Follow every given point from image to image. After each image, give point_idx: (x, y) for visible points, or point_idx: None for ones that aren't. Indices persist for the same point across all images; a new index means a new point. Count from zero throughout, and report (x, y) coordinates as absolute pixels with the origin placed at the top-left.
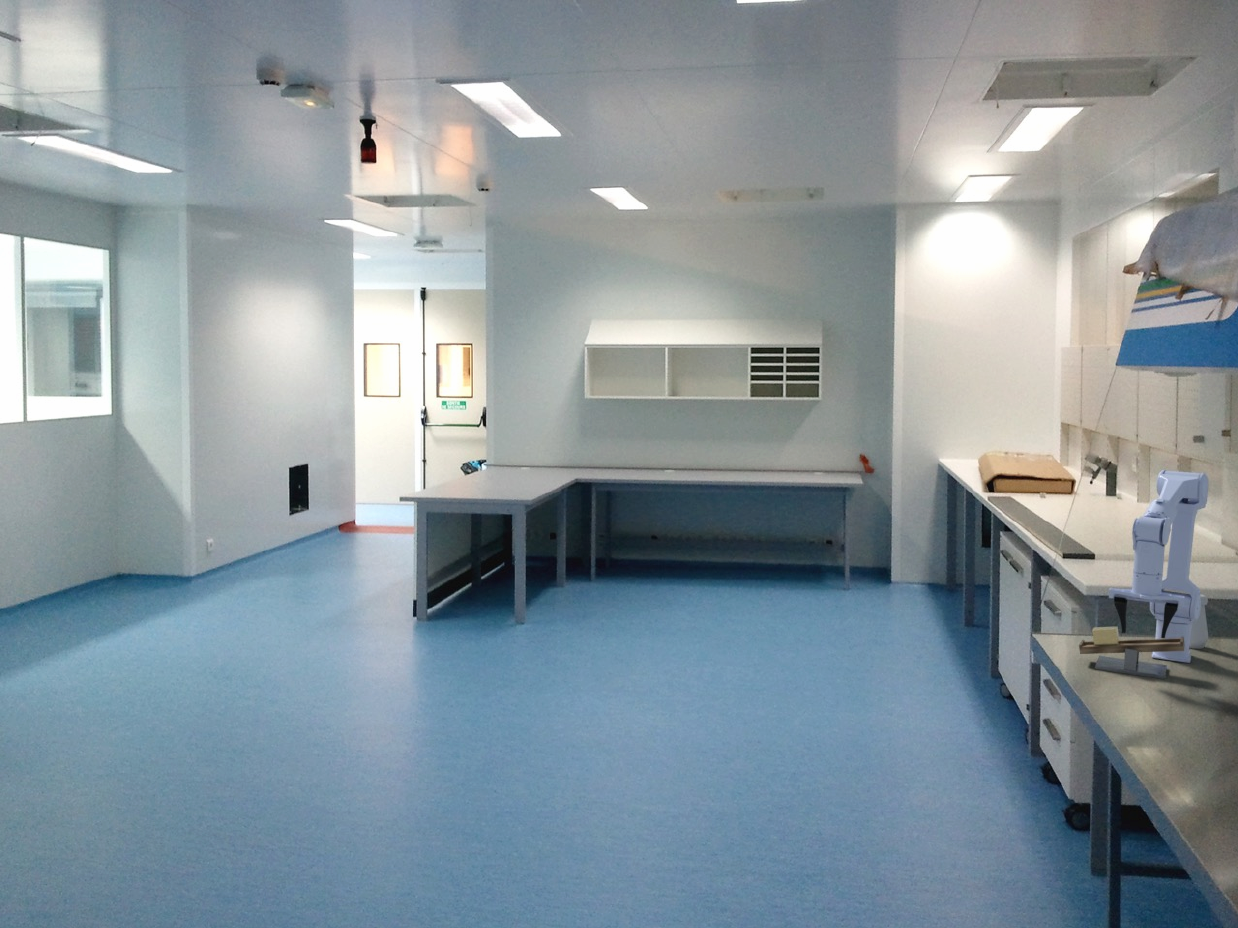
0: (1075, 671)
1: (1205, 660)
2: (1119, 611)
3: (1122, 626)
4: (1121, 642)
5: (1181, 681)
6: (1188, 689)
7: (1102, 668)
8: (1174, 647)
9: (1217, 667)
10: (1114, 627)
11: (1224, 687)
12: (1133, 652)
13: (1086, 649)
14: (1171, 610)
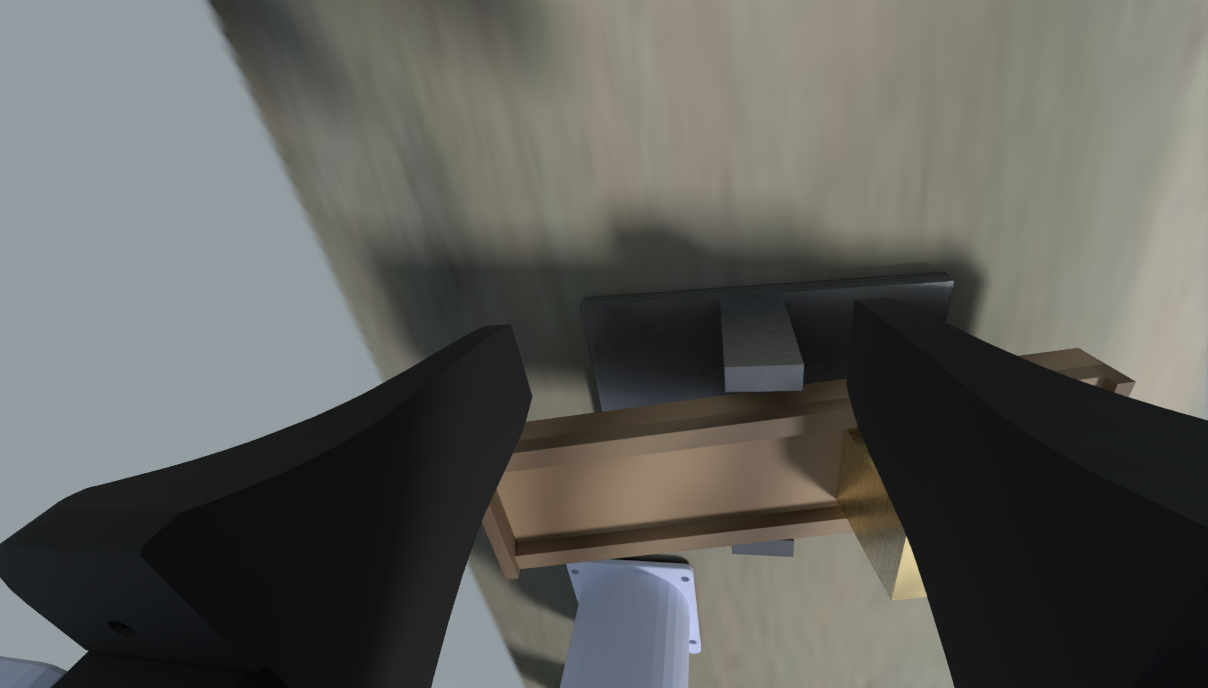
0: (1102, 118)
1: (542, 601)
2: (1175, 427)
3: (923, 319)
4: (828, 511)
5: (518, 309)
6: (449, 180)
7: (901, 278)
8: None
9: (490, 552)
10: (915, 577)
11: (370, 325)
12: (745, 356)
13: (1056, 370)
14: (104, 498)
